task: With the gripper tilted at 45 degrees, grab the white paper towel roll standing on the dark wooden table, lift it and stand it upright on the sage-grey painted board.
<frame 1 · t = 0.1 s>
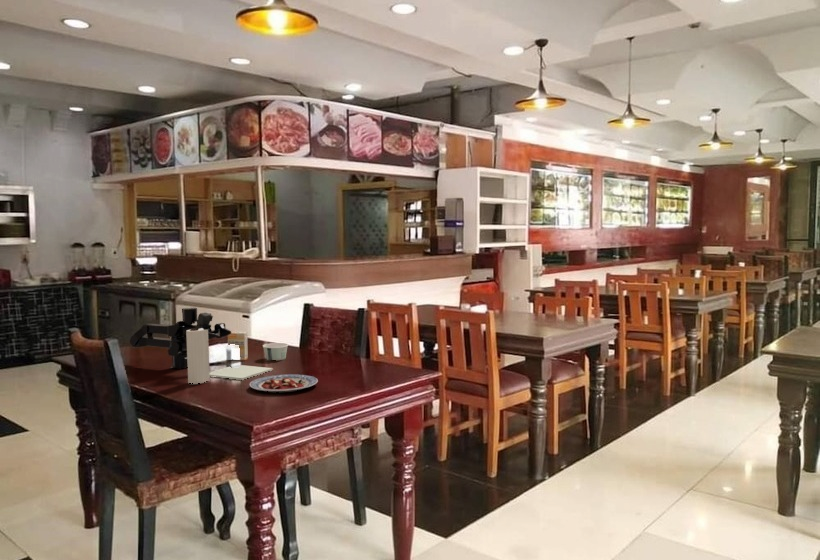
hand: (223, 334, 262), 17 cm above the table, tool horizontal, fingers open, 9 cm apart
supplement box: (238, 360, 291), on the table
paper towel roll: (197, 383, 246), on the table
food container: (275, 359, 293), on the table
sage board: (239, 373, 262), on the table
ceramic plate: (284, 388, 238), on the table
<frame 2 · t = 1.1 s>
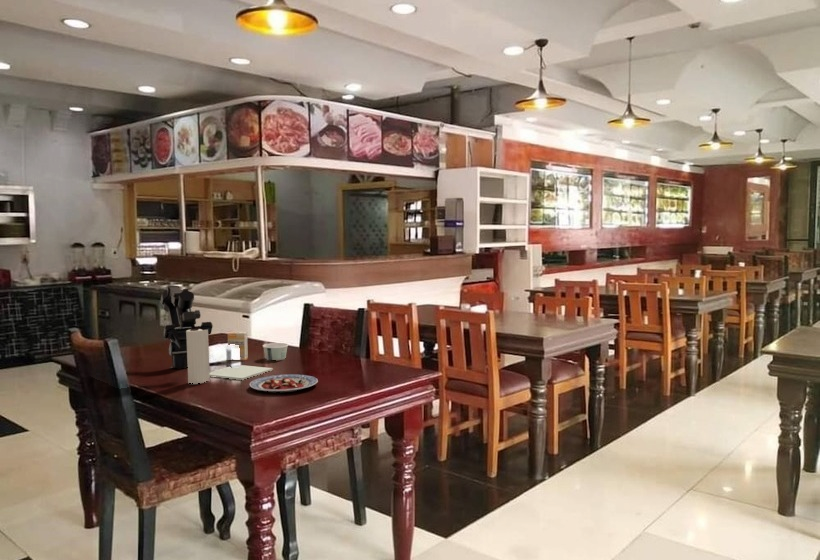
hand: (192, 346, 251), 14 cm above the table, tool tilted 45°, fingers open, 9 cm apart
nothing on the table moved.
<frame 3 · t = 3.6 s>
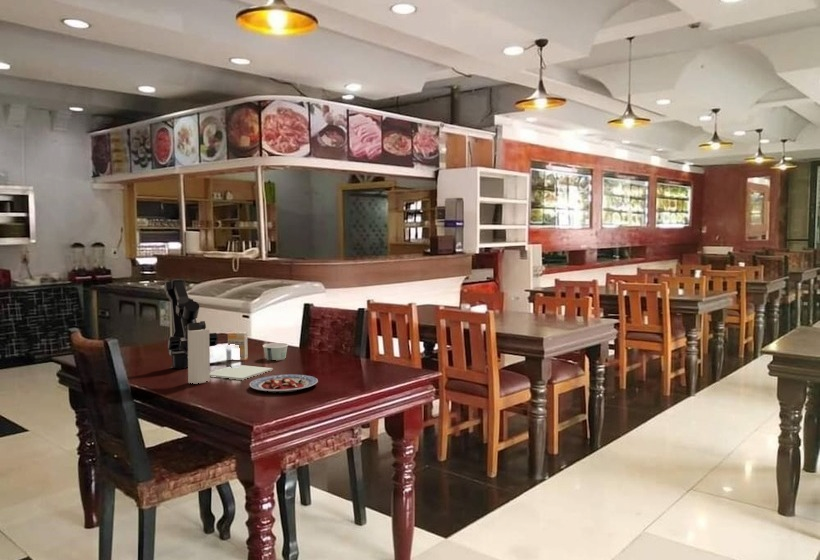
hand: (197, 358, 243), 10 cm above the table, tool tilted 45°, fingers closed on paper towel roll, 3 cm apart
paper towel roll: (197, 383, 246), on the table, touching gripper
everything else where it was.
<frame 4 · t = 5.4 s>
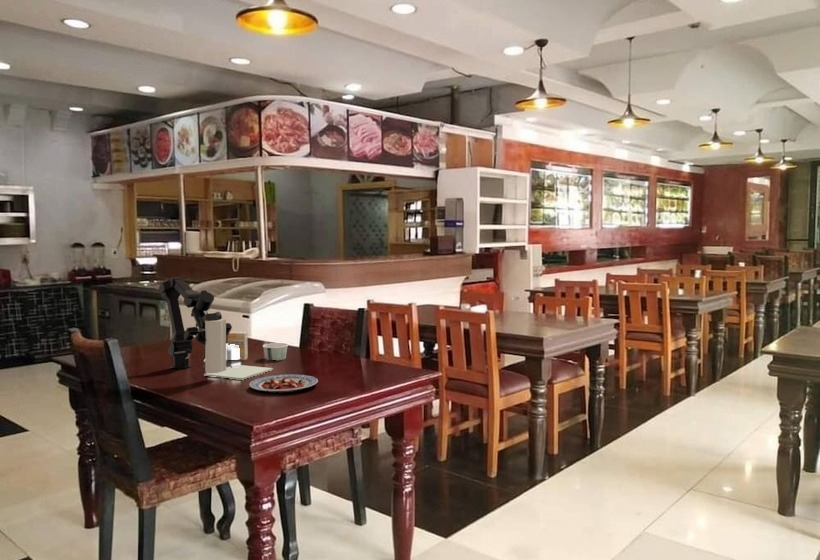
hand: (215, 348, 249), 13 cm above the table, tool tilted 45°, fingers closed on paper towel roll, 3 cm apart
paper towel roll: (214, 372, 250), point 3 cm above the table, touching gripper
everything else where it was.
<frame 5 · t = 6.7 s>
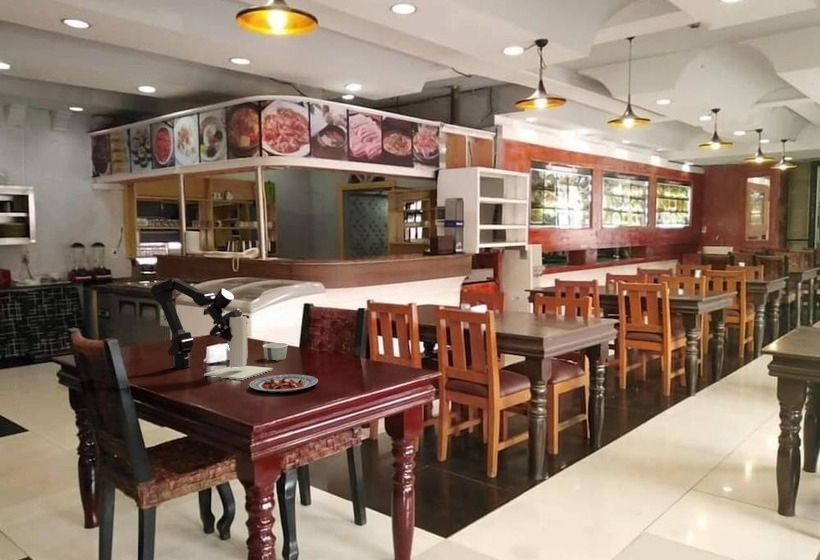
hand: (240, 343, 260), 13 cm above the table, tool tilted 45°, fingers closed on paper towel roll, 3 cm apart
paper towel roll: (238, 366, 262), point 3 cm above the table, touching gripper
everything else where it was.
when the fingers open (12 cm above the table, at t = 7.1 s): paper towel roll drops 1 cm, resting on sage board.
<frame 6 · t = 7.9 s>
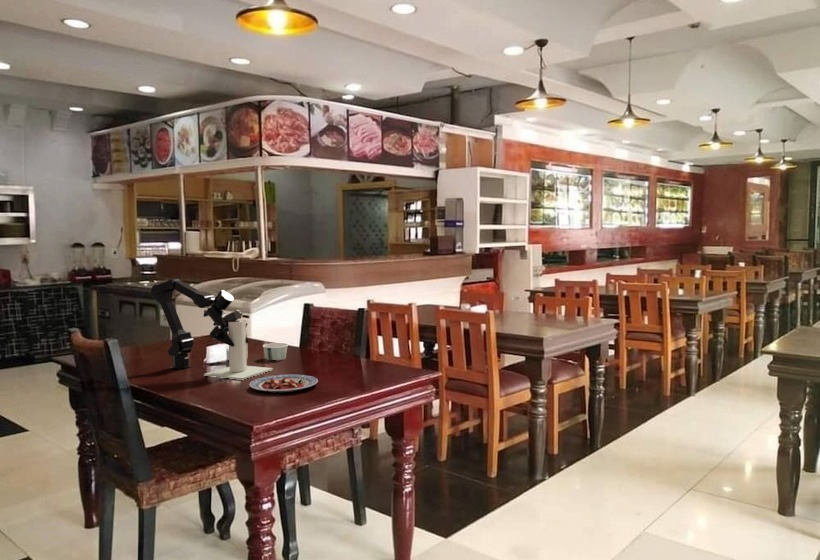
hand: (240, 344, 260), 13 cm above the table, tool tilted 45°, fingers open, 9 cm apart
paper towel roll: (238, 371, 262), point 1 cm above the table, touching sage board
everything else where it was.
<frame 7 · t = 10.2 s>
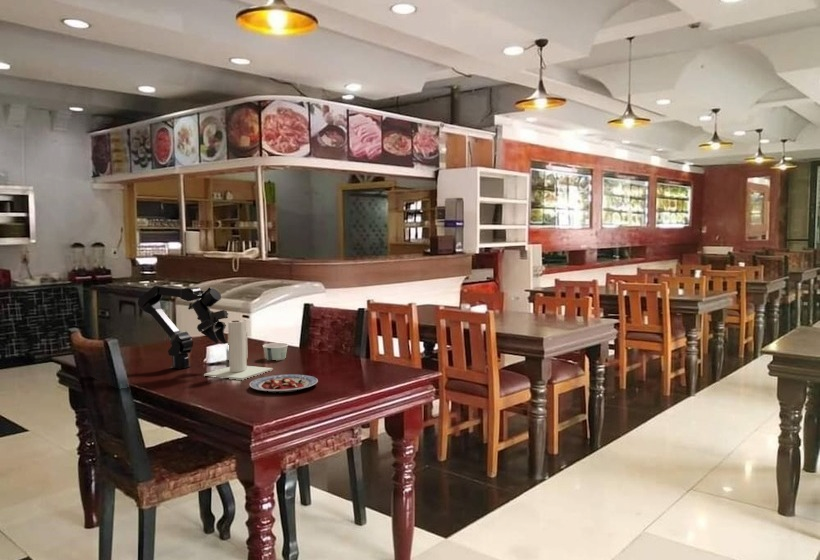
hand: (221, 343, 266), 12 cm above the table, tool tilted 35°, fingers open, 9 cm apart
nothing on the table moved.
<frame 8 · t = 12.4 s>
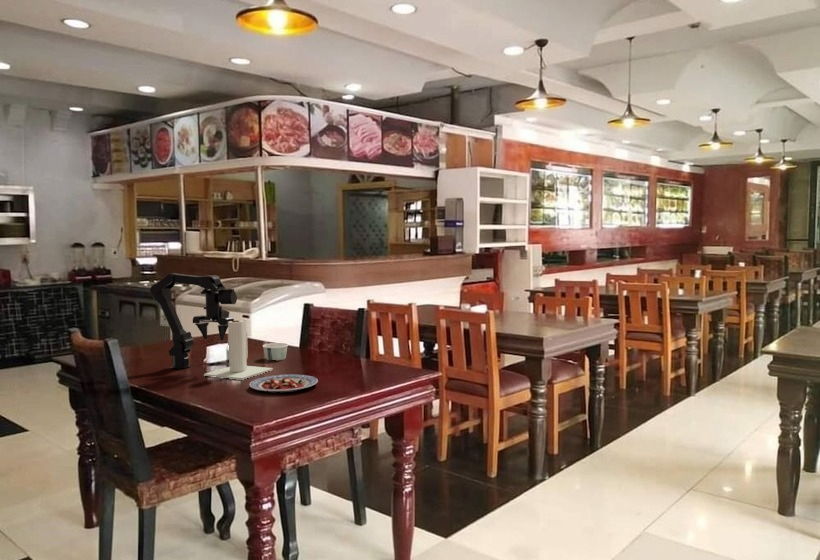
hand: (213, 339, 270), 13 cm above the table, tool pointing down, fingers open, 9 cm apart
nothing on the table moved.
at the end: paper towel roll inside the target area on the sage board (0.3 cm from its centre), point 0.8 cm above the sage board's base; paper towel roll tilted 0°; the gripper is holding nothing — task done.
